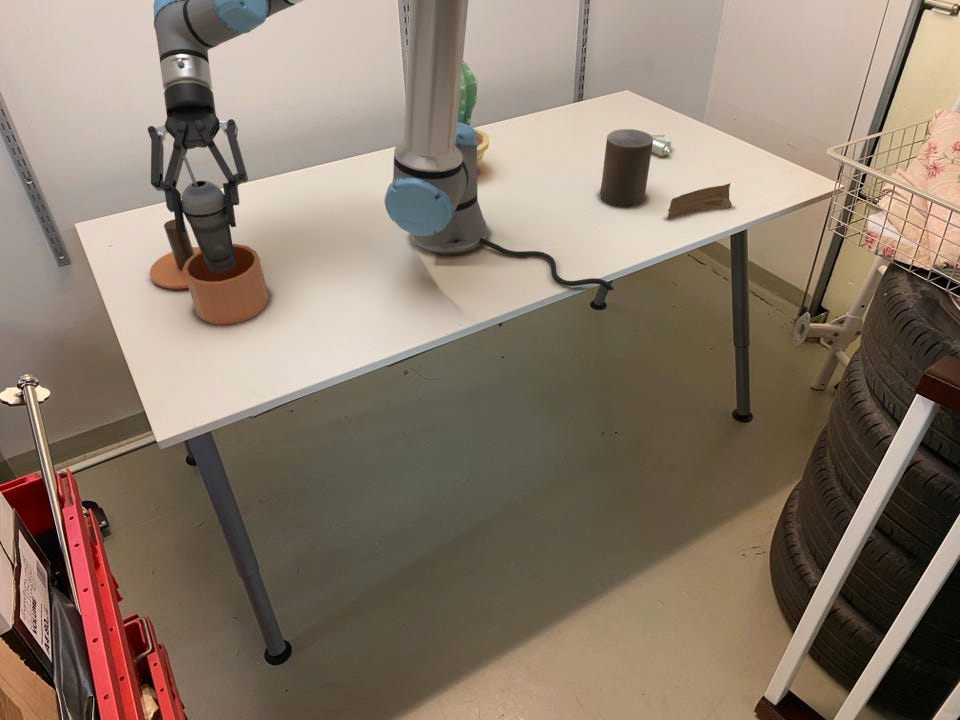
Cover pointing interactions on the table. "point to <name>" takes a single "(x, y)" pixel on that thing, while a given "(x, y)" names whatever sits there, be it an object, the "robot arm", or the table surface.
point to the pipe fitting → (661, 144)
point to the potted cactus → (470, 108)
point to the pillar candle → (626, 167)
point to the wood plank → (700, 201)
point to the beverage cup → (209, 222)
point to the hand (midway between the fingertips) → (206, 227)
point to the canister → (227, 287)
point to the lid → (173, 259)
